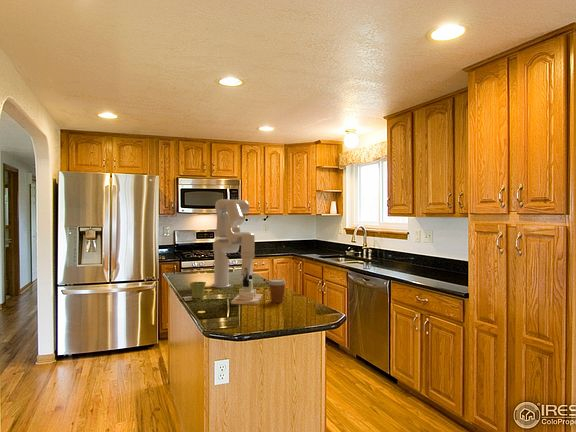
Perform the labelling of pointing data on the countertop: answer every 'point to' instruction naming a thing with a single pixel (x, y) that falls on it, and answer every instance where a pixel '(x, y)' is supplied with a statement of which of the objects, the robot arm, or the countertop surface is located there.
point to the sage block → (249, 286)
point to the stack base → (249, 301)
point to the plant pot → (197, 289)
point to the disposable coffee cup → (277, 290)
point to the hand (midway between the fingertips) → (247, 285)
